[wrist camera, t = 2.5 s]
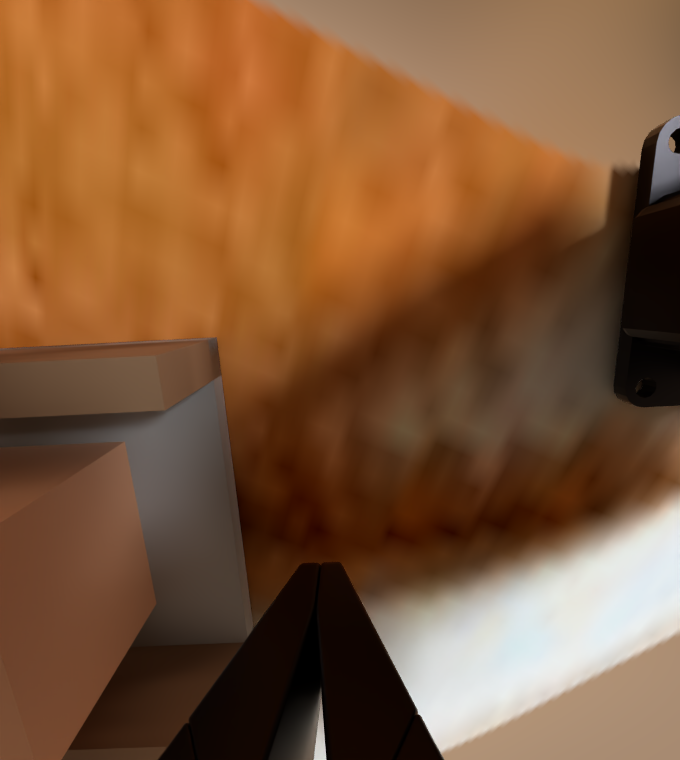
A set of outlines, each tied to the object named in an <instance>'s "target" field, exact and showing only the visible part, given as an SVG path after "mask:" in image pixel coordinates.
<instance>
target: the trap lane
mask: <svg viewBox="0 0 680 760" xmlns="http://www.w3.org/2000/svg"><path fill="white" fill-rule="evenodd" d="M104 442H125V445H126V450H127V455H128V460H129V465H130V470H131V476H132V481H133V486H134V491H135V496H136V501H137V506H138V511H139V516H140V522H141V527H142V532H143V537H144V542H145V547H146V552H147V557H148V562H149V568H150V573H151V578H152V583H153V588H154V593H155V598H156V603H157V604H156V605H155V607H154V608H153V610H152V612H151V613H150V615H149V617H148V618H147V620H146V622H145V623H144V625H143V627H142V628H141V630H140V632H139V633H138V635H137V636H136V638H135V640H134V641H133V643H132V645H131V646H130V648H129V650H128V651H127V653H126V655H125V656H124V658H123V659H122V661H121V663H120V664H119V666H118V668H117V669H116V671H115V673H114V674H113V676H112V678H111V679H110V681H109V683H108V684H107V686H106V687H105V689H104V691H103V692H102V694H101V696H100V697H99V699H98V701H97V702H96V704H95V706H94V707H93V709H92V711H91V712H90V714H89V715H88V717H87V719H86V720H85V722H84V724H83V725H82V727H81V729H80V730H79V732H78V734H77V735H76V737H75V738H74V740H73V742H72V743H71V745H70V747H69V748H68V750H67V752H66V753H65V755H64V757H63V758H62V760H158V758H159V757H160V756H161V754H162V753H163V752H164V751H165V749H166V748H167V746H168V745H169V744H170V742H171V741H172V740H173V738H174V737H175V736H176V734H177V733H178V731H179V730H180V729H181V727H182V726H183V724H185V723H188V719H189V717H190V715H191V714H192V713H193V711H194V710H195V708H196V707H197V706H198V704H199V703H200V702H201V700H202V699H203V697H204V696H205V695H206V693H207V692H208V691H209V689H210V688H211V686H212V685H213V684H214V682H215V681H216V680H217V678H218V677H219V676H220V674H221V673H222V671H223V670H224V669H225V667H226V666H227V665H228V663H229V662H230V660H231V659H232V658H233V656H234V655H235V654H236V652H237V651H238V649H239V648H240V647H241V645H242V644H243V643H244V641H245V640H246V638H247V637H248V636H249V634H250V633H251V632H252V630H253V629H254V628H253V620H252V612H251V605H250V597H249V589H248V581H247V573H246V565H245V557H244V550H243V542H242V534H241V526H240V518H239V510H238V502H237V495H236V487H235V479H234V471H233V463H232V455H231V447H230V439H229V432H228V424H227V416H226V408H225V400H224V392H223V384H222V377H221V369H220V361H219V353H218V345H217V337H216V338H197V339H177V340H158V341H139V342H120V343H100V344H81V345H62V346H43V347H23V348H4V349H0V448H1V447H22V446H42V445H63V444H84V443H104ZM188 724H189V723H188Z"/></svg>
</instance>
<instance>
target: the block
mask: <svg viewBox="0 0 680 760" xmlns="http://www.w3.org/2000/svg"><path fill="white" fill-rule="evenodd" d="M156 604H157V603H156V598H155V593H154V588H153V583H152V578H151V573H150V568H149V562H148V557H147V552H146V547H145V542H144V537H143V532H142V527H141V522H140V516H139V511H138V506H137V501H136V496H135V491H134V486H133V481H132V476H131V470H130V465H129V460H128V455H127V450H126V445H125V442H104V443H84V444H63V445H42V446H22V447H1V448H0V760H62V758H63V757H64V755H65V753H66V752H67V750H68V748H69V747H70V745H71V743H72V742H73V740H74V738H75V737H76V735H77V734H78V732H79V730H80V729H81V727H82V725H83V724H84V722H85V720H86V719H87V717H88V715H89V714H90V712H91V711H92V709H93V707H94V706H95V704H96V702H97V701H98V699H99V697H100V696H101V694H102V692H103V691H104V689H105V687H106V686H107V684H108V683H109V681H110V679H111V678H112V676H113V674H114V673H115V671H116V669H117V668H118V666H119V664H120V663H121V661H122V659H123V658H124V656H125V655H126V653H127V651H128V650H129V648H130V646H131V645H132V643H133V641H134V640H135V638H136V636H137V635H138V633H139V632H140V630H141V628H142V627H143V625H144V623H145V622H146V620H147V618H148V617H149V615H150V613H151V612H152V610H153V608H154V607H155V605H156Z"/></svg>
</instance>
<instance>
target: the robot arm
mask: <svg viewBox="0 0 680 760" xmlns="http://www.w3.org/2000/svg"><path fill="white" fill-rule="evenodd" d="M670 137H672V138H673V139H674V140H675V146H676V148H675V151H674V153H673V152H672V151H671V150H670V148H669V144H668V141H669V138H670ZM642 379H643V385H642V388H641V389H640V390H639V391H638V392H636V389H635V388H636V386H637V383H638V382H639V381H641V380H642ZM614 392H615V394H616V396H617V397H618V398H619V399H620V400H622V401H623V402H626V403H629V404H632V405H634V406H639V407H655V406H676V405H680V115H679V116H676V117H674V118H672V119H670V120H668V121H666V122H664V123H663V124H661V125H659V126H657V127H656V128H655V129H653V130H652V131H651V132H650V133H649V135H648V136H647V137H646V139H645V140H644V144H643V147H642V152H641V160H640V169H639V177H638V186H637V194H636V202H635V211H634V219H633V225H632V233H631V242H630V250H629V259H628V267H627V275H626V284H625V292H624V301H623V309H622V317H621V328H620V337H619V345H618V353H617V362H616V370H615V379H614ZM321 693H322V707H323V720H324V733H325V746H326V759H327V760H444V758H443V756H442V755H441V753H440V751H439V749H438V747H437V746H436V744H435V742H434V740H433V738H432V736H431V734H430V733H429V731H428V729H427V727H426V725H425V723H424V721H423V719H422V717H421V716H420V715H419V714H418V711H417V708H416V706H415V704H414V702H413V700H412V699H411V697H410V695H409V693H408V691H407V689H406V687H405V685H404V683H403V681H402V679H401V677H400V675H399V674H398V672H397V670H396V668H395V666H394V664H393V662H392V660H391V658H390V656H389V654H388V652H387V650H386V649H385V647H384V645H383V643H382V641H381V639H380V637H379V635H378V633H377V631H376V629H375V627H374V625H373V624H372V622H371V620H370V618H369V616H368V614H367V612H366V610H365V608H364V606H363V604H362V602H361V600H360V599H359V597H358V595H357V593H356V591H355V589H354V587H353V585H352V583H351V581H350V579H349V577H348V575H347V574H346V572H345V570H344V568H343V566H342V564H341V563H340V562H324V563H322V565H320V564H319V563H303V564H301V565H300V566H299V567H298V568H297V570H296V571H295V573H294V574H293V575H292V577H291V578H290V579H289V581H288V582H287V584H286V585H285V586H284V588H283V589H282V590H281V592H280V593H279V595H278V596H277V597H276V599H275V600H274V601H273V603H272V604H271V606H270V607H269V608H268V610H267V611H266V612H265V614H264V615H263V617H262V618H261V619H260V621H259V622H258V623H257V625H256V626H255V627H254V629H253V630H252V632H251V633H250V634H249V636H248V637H247V638H246V640H245V641H244V643H243V644H242V645H241V647H240V648H239V649H238V651H237V652H236V654H235V655H234V656H233V658H232V659H231V660H230V662H229V663H228V665H227V666H226V667H225V669H224V670H223V671H222V673H221V674H220V676H219V677H218V678H217V680H216V681H215V682H214V684H213V685H212V686H211V688H210V689H209V691H208V692H207V693H206V695H205V696H204V697H203V699H202V700H201V702H200V703H199V704H198V706H197V707H196V708H195V710H194V711H193V713H192V714H191V715H190V717H189V719H188V723H189V724H188V723H185V724H183V726H182V727H181V729H180V730H179V731H178V733H177V734H176V736H175V737H174V738H173V740H172V741H171V742H170V744H169V745H168V746H167V748H166V749H165V751H164V752H163V753H162V754H161V756H160V757H159V758H158V760H313V759H314V751H315V743H316V735H317V726H318V718H319V710H320V700H321Z"/></svg>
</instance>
